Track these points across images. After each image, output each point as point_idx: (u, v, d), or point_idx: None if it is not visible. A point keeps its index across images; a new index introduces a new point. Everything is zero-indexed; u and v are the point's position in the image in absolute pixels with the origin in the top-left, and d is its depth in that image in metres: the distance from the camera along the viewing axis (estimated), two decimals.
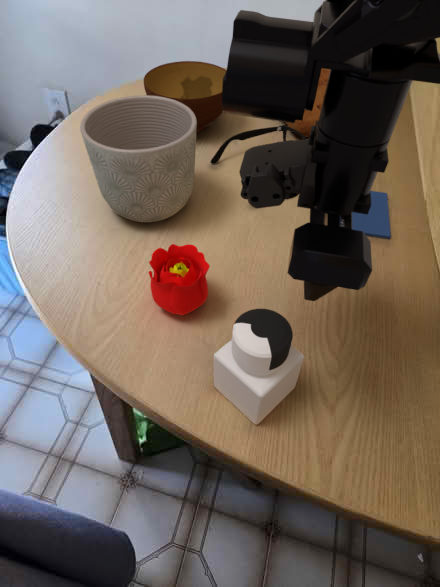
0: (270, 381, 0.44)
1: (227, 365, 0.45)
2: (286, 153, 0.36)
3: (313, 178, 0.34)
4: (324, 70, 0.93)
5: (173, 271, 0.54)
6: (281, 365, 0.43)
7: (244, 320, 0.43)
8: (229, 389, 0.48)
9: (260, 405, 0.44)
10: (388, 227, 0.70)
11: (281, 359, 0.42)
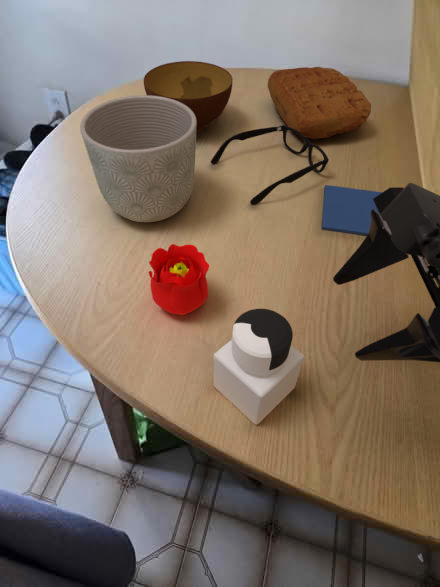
0: (270, 381, 0.44)
1: (227, 365, 0.45)
2: None
3: None
4: (324, 70, 0.93)
5: (173, 271, 0.54)
6: (281, 365, 0.43)
7: (244, 320, 0.43)
8: (229, 389, 0.48)
9: (260, 405, 0.44)
10: None
11: (281, 359, 0.42)
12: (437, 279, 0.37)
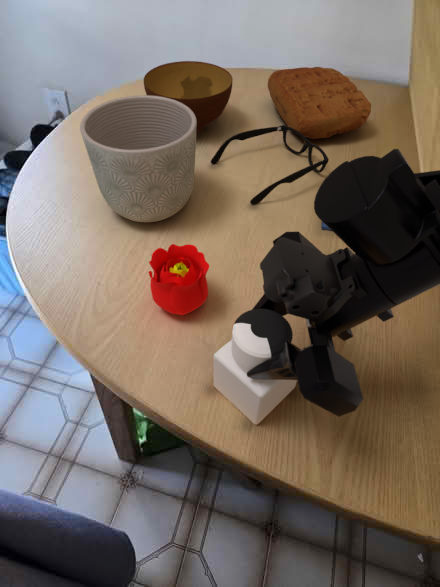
0: (270, 381, 0.44)
1: (227, 365, 0.45)
2: (319, 266, 0.36)
3: (341, 305, 0.36)
4: (324, 70, 0.93)
5: (173, 271, 0.54)
6: None
7: (244, 320, 0.43)
8: (228, 389, 0.48)
9: (260, 405, 0.44)
10: None
11: None
12: None
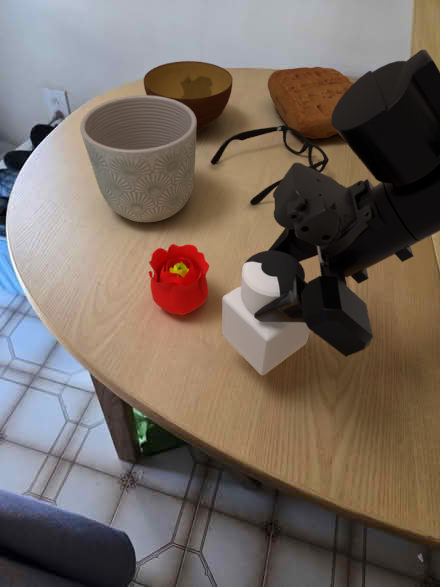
0: (278, 326, 0.42)
1: (235, 308, 0.43)
2: (335, 194, 0.34)
3: (355, 236, 0.33)
4: (324, 70, 0.93)
5: (173, 271, 0.54)
6: None
7: (255, 259, 0.41)
8: (236, 337, 0.46)
9: (267, 351, 0.42)
10: None
11: None
12: None
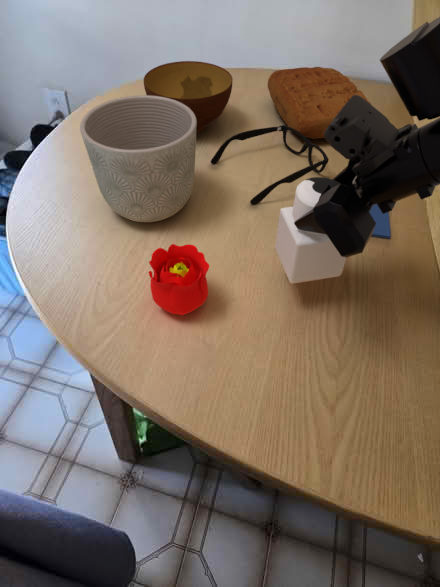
0: (311, 238, 0.50)
1: (286, 217, 0.53)
2: (379, 126, 0.41)
3: (382, 162, 0.40)
4: (324, 70, 0.93)
5: (173, 271, 0.54)
6: None
7: (312, 179, 0.50)
8: (282, 246, 0.56)
9: (296, 256, 0.51)
10: (388, 227, 0.70)
11: None
12: None
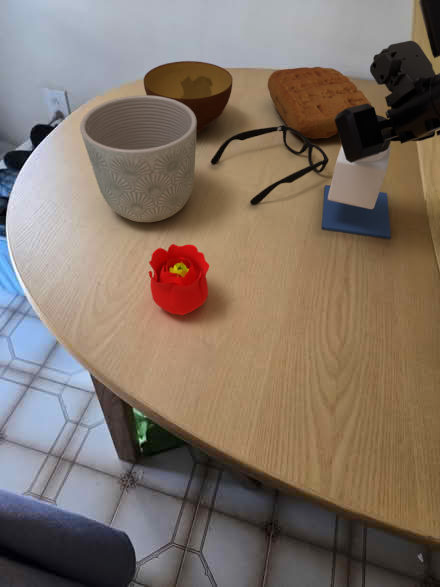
0: None
1: None
2: (418, 67, 0.51)
3: (404, 93, 0.50)
4: (324, 70, 0.93)
5: (173, 271, 0.54)
6: None
7: None
8: None
9: (334, 172, 0.63)
10: (388, 227, 0.70)
11: None
12: None
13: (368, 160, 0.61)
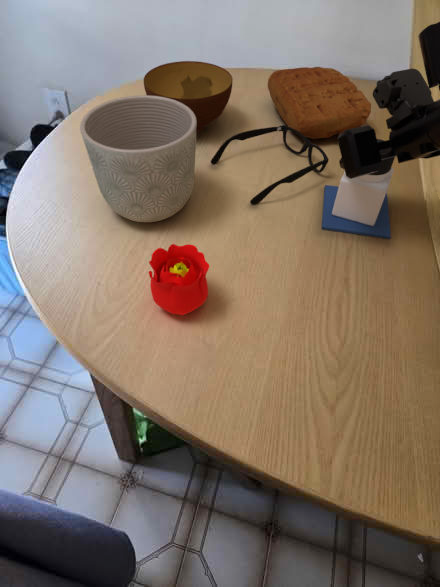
0: (353, 180, 0.66)
1: None
2: (417, 94, 0.55)
3: (403, 117, 0.54)
4: (324, 70, 0.93)
5: (173, 271, 0.54)
6: (365, 175, 0.65)
7: None
8: None
9: (338, 190, 0.68)
10: (388, 227, 0.70)
11: None
12: None
13: (370, 181, 0.66)
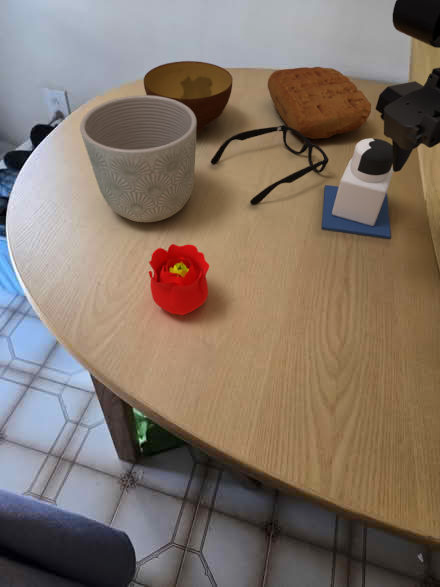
0: (353, 180, 0.66)
1: (348, 164, 0.69)
2: (425, 100, 0.45)
3: None
4: (324, 70, 0.93)
5: (173, 271, 0.54)
6: (365, 175, 0.65)
7: None
8: None
9: (338, 190, 0.68)
10: (388, 227, 0.70)
11: (366, 165, 0.64)
12: None
13: (370, 181, 0.66)
